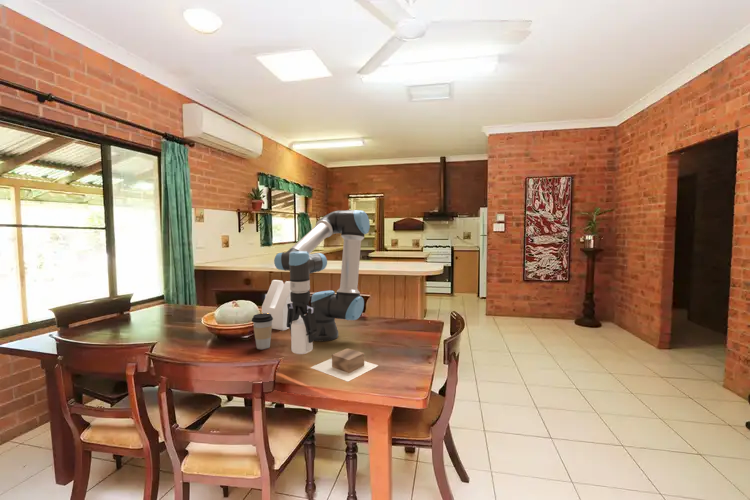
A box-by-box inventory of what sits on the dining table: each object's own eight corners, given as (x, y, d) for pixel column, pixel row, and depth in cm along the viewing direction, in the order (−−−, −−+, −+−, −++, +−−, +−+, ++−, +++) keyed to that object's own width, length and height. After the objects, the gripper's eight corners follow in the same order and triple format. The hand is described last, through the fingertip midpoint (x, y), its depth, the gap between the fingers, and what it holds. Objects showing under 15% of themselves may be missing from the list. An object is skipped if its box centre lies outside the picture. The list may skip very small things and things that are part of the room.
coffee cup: (277, 345, 165) (277, 313, 164) (265, 351, 156) (264, 319, 155) (260, 342, 168) (260, 312, 167) (247, 349, 159) (247, 317, 158)
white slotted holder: (285, 318, 212) (285, 277, 210) (305, 321, 205) (305, 279, 203) (262, 326, 195) (261, 282, 193) (283, 330, 188) (282, 284, 186)
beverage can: (293, 347, 142) (292, 318, 140) (313, 346, 142) (313, 318, 141) (289, 355, 134) (289, 325, 132) (311, 355, 134) (310, 324, 133)
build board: (310, 370, 136) (310, 367, 136) (341, 356, 150) (341, 354, 150) (348, 384, 124) (348, 381, 124) (378, 368, 138) (378, 365, 138)
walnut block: (331, 367, 136) (331, 354, 136) (347, 360, 144) (347, 348, 143) (349, 373, 131) (349, 360, 131) (364, 365, 138) (364, 353, 138)
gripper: (275, 289, 139) (277, 344, 141) (311, 296, 126) (312, 357, 129) (290, 286, 145) (292, 339, 147) (326, 292, 132) (327, 350, 134)
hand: (302, 347), depth 138 cm, fingers closed on beverage can, 8 cm apart
